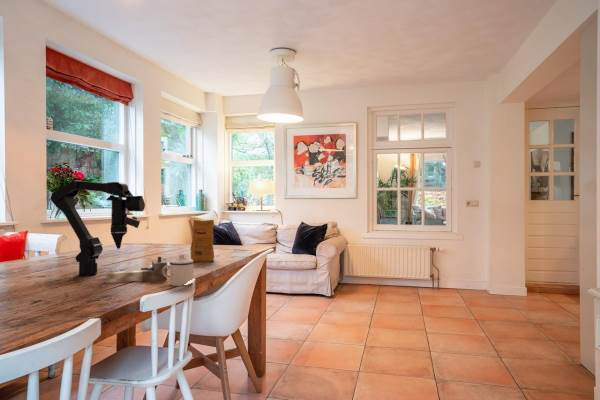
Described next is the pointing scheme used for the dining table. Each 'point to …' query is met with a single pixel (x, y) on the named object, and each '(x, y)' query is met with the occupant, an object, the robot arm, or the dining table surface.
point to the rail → (125, 276)
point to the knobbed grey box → (155, 271)
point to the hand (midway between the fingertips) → (118, 247)
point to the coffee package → (202, 241)
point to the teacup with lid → (180, 270)
